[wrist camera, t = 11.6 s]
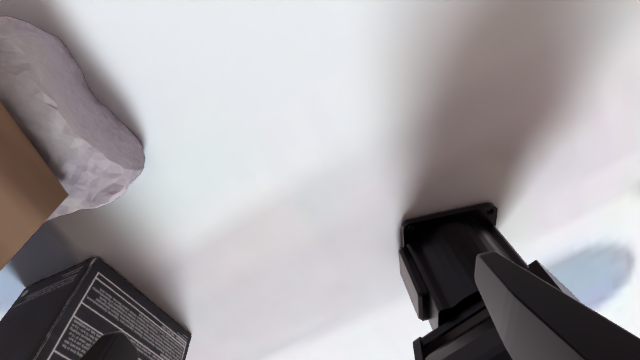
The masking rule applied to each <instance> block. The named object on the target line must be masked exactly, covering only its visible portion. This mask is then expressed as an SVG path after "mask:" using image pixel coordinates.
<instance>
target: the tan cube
mask: <svg viewBox="0 0 640 360" xmlns="http://www.w3.org/2000/svg"><path fill="white" fill-rule="evenodd" d="M68 195H69V194H68V193H67V192H66V190H65V189H64V187H63V186H62V185H61V183H60V182H59V181H58V179H57V178H56V177H55V175H54V174H53V172H52V171H51V170H50V168H49V167H48V166H47V164H46V163H45V162H44V160H43V159H42V158H41V156H40V155H39V153H38V152H37V151H36V149H35V148H34V147H33V145H32V144H31V143H30V141H29V140H28V139H27V137H26V136H25V134H24V133H23V132H22V130H21V129H20V128H19V126H18V125H17V124H16V122H15V121H14V119H13V118H12V117H11V115H10V114H9V113H8V111H7V110H6V109H5V107H4V106H3V105H2V103H1V102H0V271H1V270H2V269H3V267H4V266H5V265H6V264H7V263H8V262H9V261H10V260H11V259H12V258H13V256H14V255H15V254H16V253H17V252H18V251H19V250H20V249H21V248H22V246H23V245H24V244H25V243H26V242H27V241H28V240H29V239H30V238H31V236H32V235H33V234H34V233H35V232H36V231H37V230H38V229H39V228H40V226H41V225H42V224H43V223H44V222H45V221H46V220H47V219H48V218H49V216H50V215H51V214H52V213H53V212H54V211H55V210H56V209H57V208H58V207H59V205H60V204H61V203H62V202H63V201H64V200H65V199H66V198H67V197H68Z"/></svg>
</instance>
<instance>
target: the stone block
mask: <svg viewBox="0 0 640 360" xmlns="http://www.w3.org/2000/svg"><path fill="white" fill-rule="evenodd" d="M0 102H1V103H2V105H3V106H4V107H5V109H6V110H7V111H8V113H9V114H10V115H11V117H12V118H13V119H14V121H15V122H16V124H17V125H18V126H19V128H20V129H21V130H22V132H23V133H24V134H25V136H26V137H27V139H28V140H29V141H30V143H31V144H32V145H33V147H34V148H35V149H36V151H37V152H38V153H39V155H40V156H41V158H42V159H43V160H44V162H45V163H46V164H47V166H48V167H49V168H50V170H51V171H52V172H53V174H54V175H55V177H56V178H57V179H58V181H59V182H60V183H61V185H62V186H63V187H64V189H65V190H66V192H67V193H68V194H69V195H68V197H67V198H66V199H65V200H64V201H63V202H62V203H61V204H60V205H59V207H58V208H57V209H56V210H55V211H54V212H53V213H52V214H51V215H50V216H49V218H48V219H47V220H46V221H48V220H51V219H53V218H56V217H58V216H61V215H66V214H70V213H73V212H75V211H77V210H80V209H90V208H98V207H100V206H103V205H106V204H108V203H110V202H112V201H114V200H115V199H117V198H118V197H119V196H121V195H122V194H123V193H125V191H126V190H127V188H128V186H129V185H130V184H131V183H132V182H133V181H134V180H135V179H136V178H137V177H138V176H139V175H140V173H141V172H142V170H143V168H144V162H145V156H144V151H143V148H142V145H141V143H140V142H139V141H138V139H137V138H136V137H135V135H134V134H133V133H132V132H131V131H130V130H129V129H128V128H127V127H126V126H125V125H124V124H123V123H121V122H120V121H119V120H118V119H117V118H116V117H115V115H114V114H113V113H112V112H111V111H110V110H109V109H108V108H107V107H106V106H104V105H103V104H101V103H100V102H99V101H98V100H97V99H96V97H95V96H94V95H93V93H92V92H91V91H90V89H89V87H88V85H87V83H86V81H85V78H84V75H83V73H82V71H81V69H80V67H79V66H78V64H77V63H76V61H75V60H74V59H73V57H72V56H71V55H70V53H69V52H68V49H67V47H66V46H65V45H64V44H63V43H62V41H61V40H60V39H59V38H58V37H56V36H53V35H51V34H49V33H47V32H45V31H43V30H42V29H40V28H38V27H36V26H34V25H32V24H30V23H27V22H25V21H22V20H19V19H15V18H12V17H7V16H0ZM46 221H45V222H46Z"/></svg>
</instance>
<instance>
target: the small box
mask: <svg viewBox="0 0 640 360" xmlns="http://www.w3.org/2000/svg"><path fill="white" fill-rule="evenodd" d="M116 331H122V332H123V333H125V335H126V336H127V337H128V338H129V339H130V341H131V342H132V343H133V344H134V345H135V346H136V348H137V350H138V360H185V359H186V355H187V352H188V347H189V343H190V340H191V335H190V334H189V333H188V332H187V331H186V330H184V329H183V328H182V327H181V326H180V325H179V324H177V323H176V322H175V321H174V320H173V319H171V318H170V317H169V316H168V315H167V314H165V313H164V312H163V311H162V310H161V309H159V308H158V307H157V306H156V305H154V304H153V303H152V302H151V301H150V300H149V299H147V298H146V297H145V296H144V295H143V294H141V293H140V292H139V291H138V290H137V289H135V288H134V287H133V286H132V285H130V284H129V283H128V282H127V281H126V280H124V279H123V278H122V277H121V276H120V275H118V274H117V273H116V272H115V271H114V270H113V269H111V268H110V267H109V266H108V265H106V264H105V263H104V262H103V261H102V260H100V259H99V258H90V259H88V260H85V261H84V262H82V263H81V264H79V265H75V266H74V267H72V268H69V269H67V270H65V271H63V272H60V273H58V274H56V275H53V276H51V277H49V278H47V279H43V280H40V281H38V282H37V283H35V284H33V285H31V286H29V287H27V288H25V289H24V290H23V292H22V293H21V295H20V296H19V297H18V299H17V300H16V301H15V302H14V304H13V305H12V307H11V308H10V309H9V310H8V312H7V313H6V314H5V316H4V317H3V318H2V320H1V321H0V360H79V359H80V358H81V357H82V356H83V355H84V354H85V353H86V352H87V351H88V350H89V349H90V348H91V346H92V345H93V344H94V343H95V342H96V341H97V340H98V339H99V338H100V337H101V336H102V335H104V334H107V333H111V332H116Z"/></svg>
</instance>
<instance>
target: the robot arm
mask: <svg viewBox="0 0 640 360" xmlns="http://www.w3.org/2000/svg"><path fill="white" fill-rule="evenodd" d="M489 209H490V210H489ZM488 210H489V211H488ZM496 218H497V208H496V206H495V205H494V204H493V203H491V202H490V203H484V204H479V205H474V206H470V207H465V208H460V209H456V210H451V211H446V212H442V213H437V214H432V215H428V216H423V217H419V218H414V219H409V220H406V221H404V222H403V224H402V226H401V228H402V243H403V247H402V248H400V250H399V262H400V273H401V276H402V279H403V281H404V284H405V286H406V289H407V291H408V294H409V296H410V299H411V301H412V303H413V306H414V308H415V311H416V313H417V316H418V318H419V319H421V320H422V321H424V320H429V322H430V325H431V327H432V329H433V331H431V332H430V333H428V334H427V335H425V336H424V337H422V338H421V337H419V338H418V339H416V340H415V341H413V348H414V355H415V360H640V338H638V337H637V336H635V335H633V334H632V333H630V332H628V331H627V330H625V329H623V328H622V327H620V326H618V325H617V324H615V323H613V322H612V321H610V320H608V319H607V318H605V317H603V316H602V315H600V314H598V313H597V312H595V311H593V310H592V309H590V308H588V307H587V306H585V305H583V304H582V303H581V302H580V301H579V300H578V299H577V298H576V297H575V296H574V295H573V294H572V293H571V292H570V291H569V290H568V289H567V288H566V287H565V286H564V285H563V284H562V283H561V282H560V281H559V280H558V279H556V278H555V277H554V276H553V275H552V274H551V273H550V272H549V271H548V270H547V269H546V268H545V267H544V266H543V265H541V264H540V263H539V262H538V261H537V260H535V261H534V262H532V263H531V264H529V265H527V264H526V263H525V261H524V260H523V259H522V258H521V257H520V255H519V254H518V253H517V252H516V251H515V249H514V248H513V247H512V246H511V245H510V243H509V242H508V241H507V240H506V239H505V238H504V236H503V235H502V234H501V233H500V232H499V230H498V229H497V228H496V227H495V225H496ZM409 226H411V227H410V228H408V227H409ZM79 360H138V350H137V348H136V346H135V345H134V344H133V343H132V342H131V341H130V339H129V338H128V337H127V336H126V335H125V333H123V332H122V331H116V332H111V333H107V334H104V335H102V336H101V337H100V338H99V339H98V340H97V341H96V342H95V343H94V344H93V345H92V346H91V348H90V349H89V350H88V351H87V352H86V353H85V354H84V355H83V356H82V357H81V358H80V359H79Z"/></svg>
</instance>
